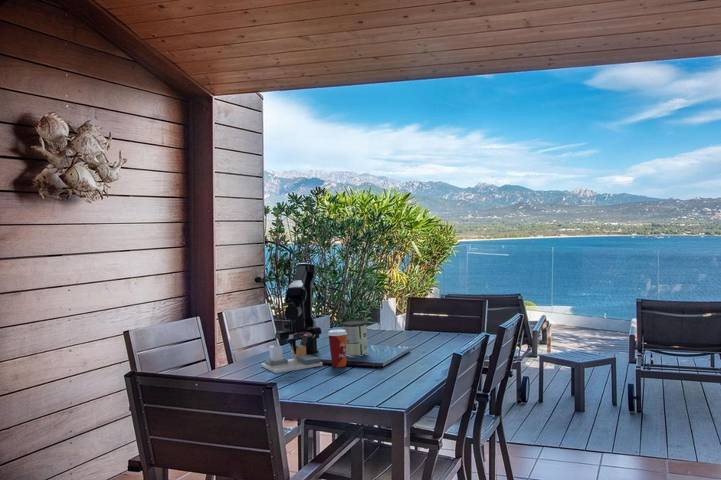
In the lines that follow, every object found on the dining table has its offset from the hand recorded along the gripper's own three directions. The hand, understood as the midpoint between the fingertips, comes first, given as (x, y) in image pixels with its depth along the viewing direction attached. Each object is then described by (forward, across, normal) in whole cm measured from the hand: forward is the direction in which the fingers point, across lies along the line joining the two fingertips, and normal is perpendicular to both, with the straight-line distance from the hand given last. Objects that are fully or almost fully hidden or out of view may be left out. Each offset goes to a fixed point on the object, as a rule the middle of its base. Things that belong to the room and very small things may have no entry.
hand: (299, 353), depth 281 cm
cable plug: (+1, 0, -4) cm, 4 cm away
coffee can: (+4, -24, +5) cm, 25 cm away
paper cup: (+4, -9, +19) cm, 21 cm away
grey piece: (+2, 0, +9) cm, 9 cm away
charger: (+2, +11, +2) cm, 11 cm away
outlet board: (+3, +6, +6) cm, 9 cm away
